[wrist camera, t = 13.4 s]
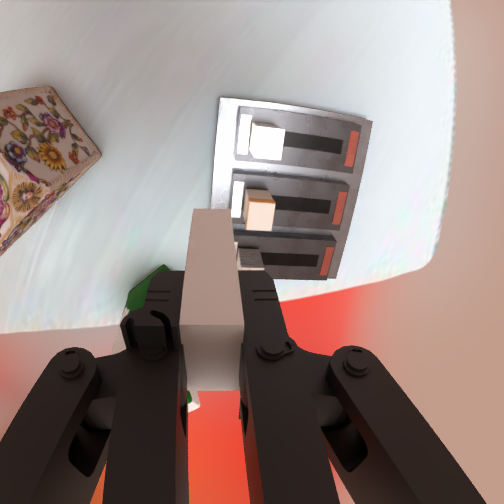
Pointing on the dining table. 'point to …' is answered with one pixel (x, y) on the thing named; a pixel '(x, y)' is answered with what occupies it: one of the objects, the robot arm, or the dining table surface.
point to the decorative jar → (37, 157)
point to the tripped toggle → (258, 210)
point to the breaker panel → (290, 183)
